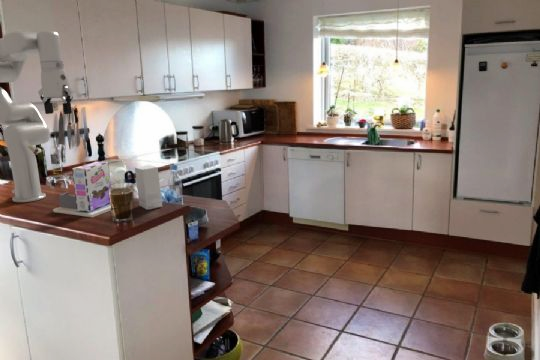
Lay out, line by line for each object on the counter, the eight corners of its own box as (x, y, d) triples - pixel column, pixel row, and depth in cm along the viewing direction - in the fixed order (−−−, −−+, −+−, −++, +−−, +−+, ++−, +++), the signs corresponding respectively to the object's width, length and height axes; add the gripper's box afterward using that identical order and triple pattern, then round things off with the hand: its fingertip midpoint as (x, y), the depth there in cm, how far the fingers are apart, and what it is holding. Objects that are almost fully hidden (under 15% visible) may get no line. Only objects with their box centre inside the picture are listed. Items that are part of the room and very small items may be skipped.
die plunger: (66, 204, 177) (63, 184, 175) (78, 200, 182) (76, 181, 180) (77, 206, 174) (74, 185, 172) (89, 202, 179) (87, 182, 178)
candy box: (90, 212, 167) (84, 168, 164) (76, 211, 169) (70, 168, 165) (113, 202, 180) (108, 161, 176) (100, 201, 182) (96, 160, 178)
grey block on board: (53, 211, 174) (51, 196, 173) (84, 201, 187) (82, 187, 186) (92, 217, 165) (90, 201, 164) (121, 206, 179) (120, 191, 177)
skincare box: (162, 207, 175) (159, 167, 172) (145, 210, 172) (141, 169, 168) (154, 202, 182) (150, 164, 179) (138, 205, 178) (134, 166, 175)
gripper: (77, 65, 168) (83, 113, 171) (44, 67, 175) (50, 112, 179) (60, 65, 161) (66, 114, 165) (27, 67, 168) (34, 114, 172)
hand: (58, 113), depth 172 cm, fingers open, 9 cm apart
